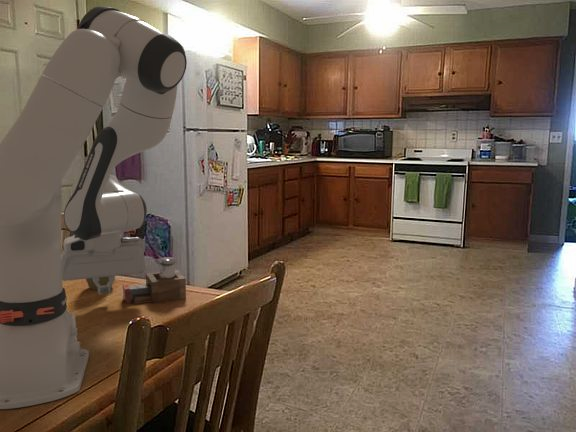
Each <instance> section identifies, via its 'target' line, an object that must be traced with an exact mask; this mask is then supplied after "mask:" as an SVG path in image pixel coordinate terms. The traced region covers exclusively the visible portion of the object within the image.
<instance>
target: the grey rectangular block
mask: <svg viewBox="0 0 576 432" xmlns="http://www.w3.org/2000/svg"><path fill="white" fill-rule="evenodd" d="M143 295H151V292H150V285H149V284H148V285H146V284H141V285H131V286H129V284H123V285H122V297H123V298H122V299H123V300H124V303H126V304H127V303H130V302H134V297H135V296H143Z"/></svg>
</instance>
